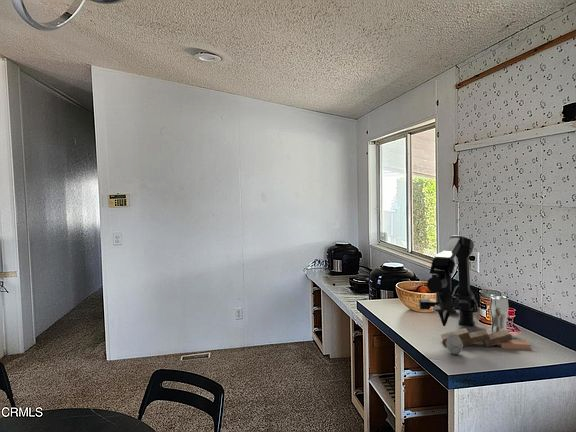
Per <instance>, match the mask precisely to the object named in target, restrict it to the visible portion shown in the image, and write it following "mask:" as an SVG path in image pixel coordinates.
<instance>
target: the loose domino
mask: <svg viewBox="0 0 576 432" xmlns="http://www.w3.org/2000/svg"><path fill="white" fill-rule="evenodd" d="M512 339H513V340H510V341H507V342H503V343H500V344H498V345H499V347H500V348H501V349H511V350H532V349H531V348H532V347H531V345H532V344H531V343H529V341H527V339H518V338H517V339H514V338H512Z"/></svg>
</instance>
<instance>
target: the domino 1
mask: <svg viewBox="0 0 576 432" xmlns="http://www.w3.org/2000/svg"><path fill="white" fill-rule="evenodd" d="M452 334H455V335H459V338H460V339H461V340H465V339H468V338H470V335H469V331H468V330H467V328H466V327H464V328H460V329H457V330H454V331H450V332H446V333H443V334H440V337H441V339H442V341H443V343H444V346H446V342H447V338H448V337H449V335H452Z"/></svg>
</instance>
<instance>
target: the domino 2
mask: <svg viewBox="0 0 576 432" xmlns="http://www.w3.org/2000/svg"><path fill="white" fill-rule="evenodd" d="M468 333H469V332H468ZM488 334H489V333H488V331H486V329H482V330H477V331H474V332H473V331H472V332H470V333H469V335H470V338H468V339H465V340H461V341H462V343H463V347H467V346H470V345H475V344H478V343H479V344H480V343H482V342H483V341H487V340H490V338H489V335H488Z"/></svg>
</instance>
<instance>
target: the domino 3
mask: <svg viewBox="0 0 576 432" xmlns="http://www.w3.org/2000/svg"><path fill="white" fill-rule="evenodd" d="M488 335H489V338H490V340H487V341H483V342H481V343H482V344H483V345H484V346H485V348H488V347H492V346H495V345H499V344H500V343H503V342H507V341H510V340H513V339H514V338H513V337H512V333H510V332H509V331H508V330H507V331H506V330H502V331H499V332H495V333H492V332H491V333H488Z"/></svg>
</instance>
